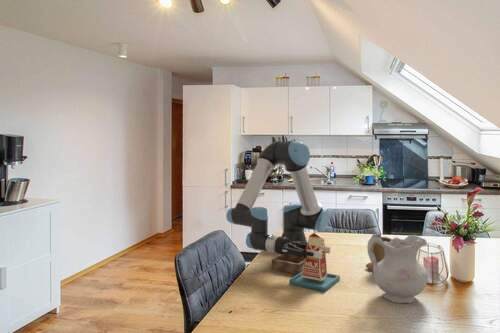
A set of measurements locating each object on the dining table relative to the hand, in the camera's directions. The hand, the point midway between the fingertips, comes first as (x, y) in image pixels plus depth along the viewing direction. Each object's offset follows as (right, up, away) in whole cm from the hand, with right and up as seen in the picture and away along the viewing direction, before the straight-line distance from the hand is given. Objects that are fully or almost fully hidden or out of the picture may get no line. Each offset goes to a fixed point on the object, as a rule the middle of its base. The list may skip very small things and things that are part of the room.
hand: (325, 252), depth 169 cm
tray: (-4, -13, +4) cm, 14 cm away
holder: (-11, -12, +23) cm, 28 cm away
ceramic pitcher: (+25, -15, -13) cm, 31 cm away
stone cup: (+30, -12, +19) cm, 38 cm away
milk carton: (-4, -11, +3) cm, 12 cm away
